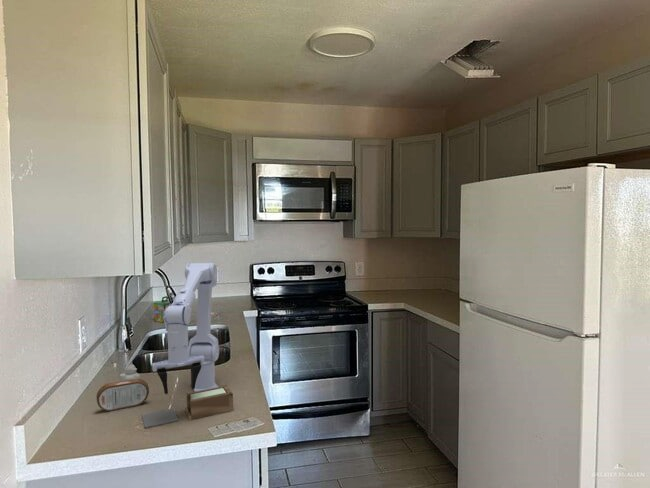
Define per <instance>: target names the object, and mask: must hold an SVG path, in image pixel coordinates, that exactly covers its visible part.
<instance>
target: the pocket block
mask: <svg viewBox="0 0 650 488" xmlns="http://www.w3.org/2000/svg"><path fill="white" fill-rule="evenodd" d="M221 388H223V389H224V390H225V391H226V393H224V394H219V395H214V396H209V397H205V398H200V399H195V400H191V394H196V393H201V392H206V391H211V390H216V389H221ZM232 411H234V392H232V390H231V389H230V388H229V387H228V385H222V386H218V387H216V388H211V389H206V390H201V391H196V392H195V391H192V392H187V393H186V406H185V407H184V413H185V414H186V416H187V419H188V421H193V420H198V419H200V418H205V417H210V416H214V415H218V414H224V413H228V412H232Z"/></svg>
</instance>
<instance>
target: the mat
mask: <svg viewBox="0 0 650 488" xmlns="http://www.w3.org/2000/svg"><path fill="white" fill-rule="evenodd" d="M177 416H178V415H177V413H176V412H175V408H173V407H172V408H168V409H162V410H157V411H154V412H153V411H152V412H149V413H144V414H141V417H142V421H143V426H144V429H150V428H154V427H159V426H162V425H167V424H171V423H176V422H179V419H178V417H177Z"/></svg>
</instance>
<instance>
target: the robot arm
mask: <svg viewBox="0 0 650 488" xmlns="http://www.w3.org/2000/svg"><path fill="white" fill-rule="evenodd" d="M184 277H185V283H184V285H183V287H182V288H180V289H179V290H178V291H177V293H176V295H175V297H174V298H173V300H172V301H173V303H172V305H171V306H168V307H167V308H166V309H165V311H164V317H163V318H164V325H165V331H166V332H167V350H168V359H165V360H161V361H157V362H153V363H151V365H152V366H151V367H152V369H151V370H152V371H153V372H157V373H156V374H157V375H158V378H160V380H161V384H162V387H163V392H164V394H165V395H168V394H169V392H168V390H169V389H168V388H169V387H168V373H167V372H168V371H167V369H173V368H179V367H185V366H189V368H190V381H189V382H190V383H189V384H190V388H191V390H193V392H196V391H201V390H206V389H211V388H216V387H219V386H218V384H217V383H216V377H215V376H216V374H215V373H216V372H215V369H216V368H215V362H217V360H218V359H219V355H220V346H219V339H218V338H217V337H216V336H215V335H214V334H212V333H211V328H212V327H211V326H212V322H211V321H212V292H213V288H214V287H215V286H217V283H218V267H217V264H216V263H215V262H196V263H195V262H188V263H187V264H186V265H185V268H184ZM196 290H197V303H196V304H197V306H196V307H197V308H196V311H197V312H196V334H195V335H194V336H192V337H191V338H190V340H189V324H190V322H191V318H192V317H191V316H192V315H191V314H192V313H193V312H192V307H193V305H194V302H195V301H196Z"/></svg>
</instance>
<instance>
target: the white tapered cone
mask: <svg viewBox="0 0 650 488" xmlns="http://www.w3.org/2000/svg"><path fill="white" fill-rule="evenodd" d="M137 370H138V368H136V366H135V365H134V364H133V362H130V364H129V365H128V366H127V367H126V369H125V372H126V373H120V375H119V378H120V381H124V380H130V379H141V376H140V374H139V373H138V372H137Z"/></svg>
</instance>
